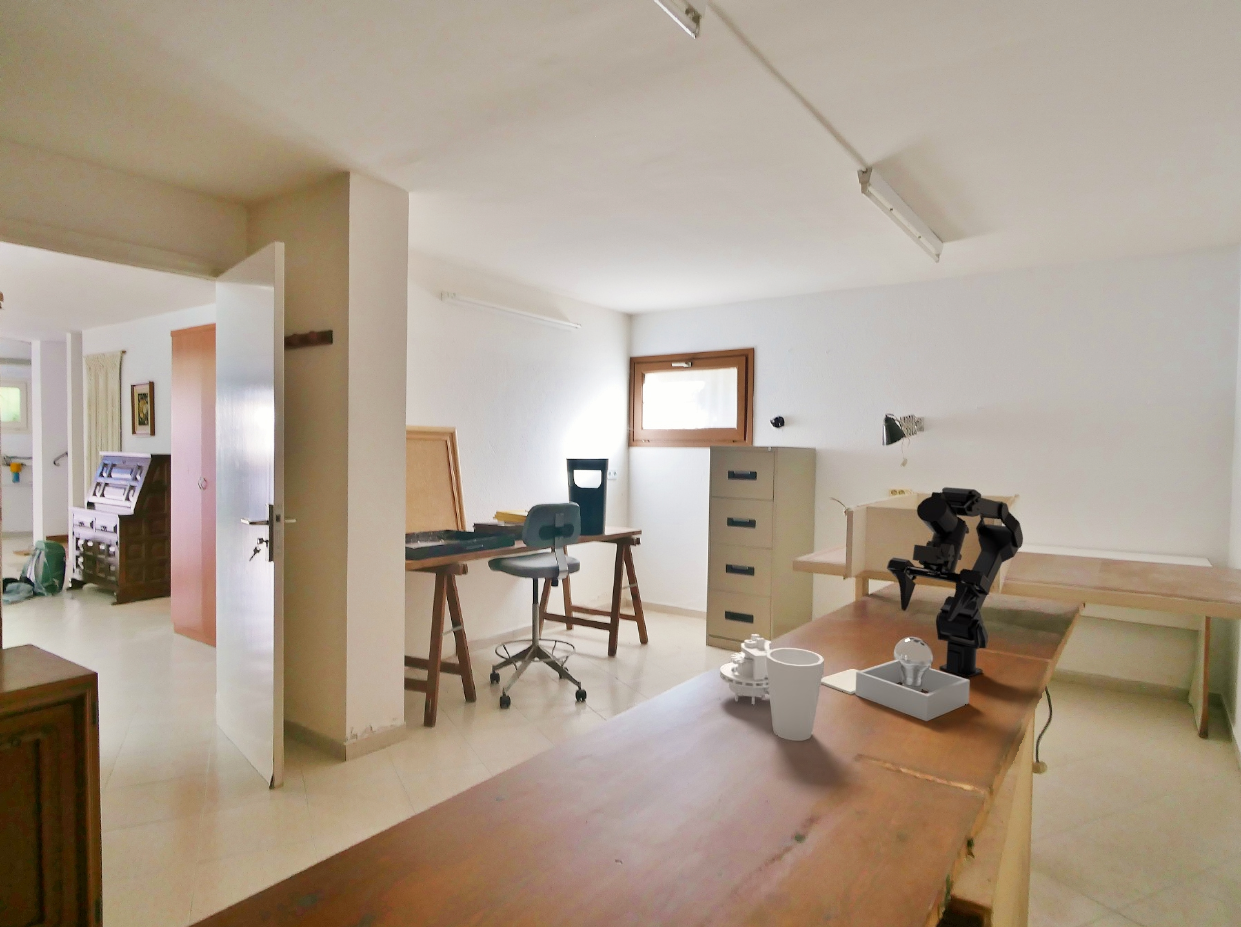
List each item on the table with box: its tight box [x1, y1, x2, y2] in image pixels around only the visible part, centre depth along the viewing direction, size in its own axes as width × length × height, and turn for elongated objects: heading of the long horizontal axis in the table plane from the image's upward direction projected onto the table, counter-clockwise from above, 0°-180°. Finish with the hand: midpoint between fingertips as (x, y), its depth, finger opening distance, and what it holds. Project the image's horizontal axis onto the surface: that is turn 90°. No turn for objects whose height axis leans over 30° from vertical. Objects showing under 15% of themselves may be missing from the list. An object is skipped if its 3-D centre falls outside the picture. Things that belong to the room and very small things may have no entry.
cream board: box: [821, 668, 860, 695], centre depth 142 cm, size 12×8×1 cm, turn 126°
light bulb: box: [893, 636, 934, 692], centre depth 133 cm, size 7×7×12 cm
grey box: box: [854, 659, 971, 722], centre depth 133 cm, size 15×15×4 cm
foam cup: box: [766, 647, 825, 742], centre depth 117 cm, size 10×9×13 cm
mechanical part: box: [719, 633, 772, 706], centre depth 132 cm, size 11×12×12 cm
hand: (925, 615), depth 138 cm, fingers open, 9 cm apart
